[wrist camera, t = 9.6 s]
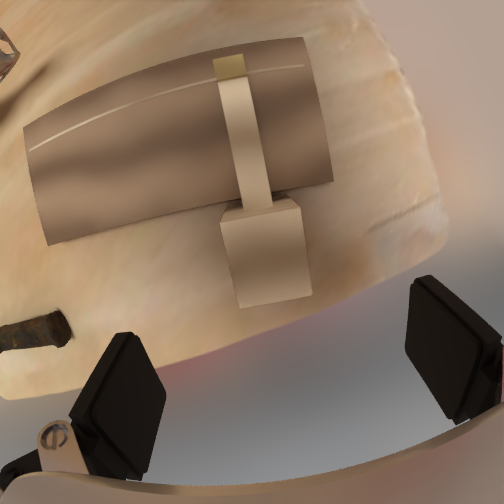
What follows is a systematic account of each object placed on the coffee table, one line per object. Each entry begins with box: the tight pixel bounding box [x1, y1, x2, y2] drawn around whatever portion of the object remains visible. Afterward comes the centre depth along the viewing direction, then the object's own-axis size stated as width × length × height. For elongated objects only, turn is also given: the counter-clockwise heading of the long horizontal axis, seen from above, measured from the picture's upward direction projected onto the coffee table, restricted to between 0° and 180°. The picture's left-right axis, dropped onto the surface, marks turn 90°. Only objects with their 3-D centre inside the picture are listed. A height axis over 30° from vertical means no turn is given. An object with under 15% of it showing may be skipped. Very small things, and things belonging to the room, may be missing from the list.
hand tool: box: [0, 311, 71, 353], centre depth 27 cm, size 19×4×5 cm, turn 103°
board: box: [23, 37, 334, 246], centre depth 21 cm, size 12×26×2 cm, turn 101°
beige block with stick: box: [213, 54, 312, 309], centre depth 20 cm, size 17×5×7 cm, turn 11°
